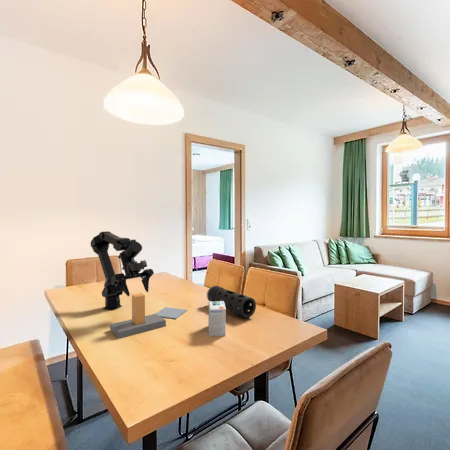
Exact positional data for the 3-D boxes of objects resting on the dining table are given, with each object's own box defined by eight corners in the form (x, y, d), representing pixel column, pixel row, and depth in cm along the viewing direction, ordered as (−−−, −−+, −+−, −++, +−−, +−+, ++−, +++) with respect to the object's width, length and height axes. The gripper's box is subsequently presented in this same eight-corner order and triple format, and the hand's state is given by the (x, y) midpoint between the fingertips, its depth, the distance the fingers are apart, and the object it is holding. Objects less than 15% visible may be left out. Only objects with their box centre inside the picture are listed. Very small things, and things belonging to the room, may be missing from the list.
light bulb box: (208, 325, 123) (208, 300, 123) (224, 325, 124) (224, 300, 123) (209, 336, 112) (209, 309, 112) (226, 335, 113) (226, 308, 112)
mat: (152, 316, 134) (152, 315, 134) (165, 308, 146) (165, 307, 146) (175, 319, 130) (175, 318, 130) (187, 310, 142) (187, 309, 142)
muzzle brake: (241, 322, 128) (241, 299, 127) (205, 306, 149) (205, 286, 149) (256, 317, 133) (256, 295, 133) (219, 302, 155) (219, 283, 155)
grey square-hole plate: (110, 330, 118) (110, 324, 118) (155, 319, 130) (155, 313, 130) (118, 338, 110) (118, 332, 110) (165, 325, 123) (165, 320, 123)
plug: (132, 327, 121) (131, 294, 120) (141, 325, 123) (140, 293, 123) (135, 330, 117) (135, 296, 117) (145, 328, 120) (144, 295, 119)
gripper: (116, 256, 122) (126, 290, 117) (153, 252, 136) (164, 282, 130) (106, 268, 129) (115, 300, 123) (143, 263, 142) (153, 292, 137)
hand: (138, 293), depth 128 cm, fingers open, 9 cm apart
